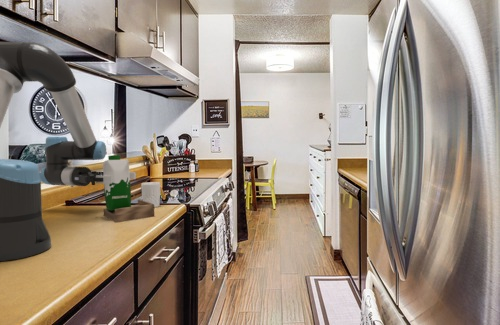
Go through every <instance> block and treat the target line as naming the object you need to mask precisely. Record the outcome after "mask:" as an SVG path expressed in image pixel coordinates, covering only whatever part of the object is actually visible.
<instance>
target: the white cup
mask: <svg viewBox="0 0 500 325" xmlns="http://www.w3.org/2000/svg"><path fill="white" fill-rule="evenodd" d="M140 185H141V198H142V199H141V200H143V201H146V202H149V203H152V204H154V208H157V207H160V203H161V202H160V201H161V182H158V181H157V182H156V181H150V182H147V181H146V182H142V183H140Z"/></svg>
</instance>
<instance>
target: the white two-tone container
mask: <svg viewBox="0 0 500 325" xmlns="http://www.w3.org/2000/svg"><path fill="white" fill-rule="evenodd" d="M102 169H103V171H102V172H103V176H112V184H106V183H103V190H104V201H105V206H106V209H107V210H115V209H119V208H127V207H131V205H132V190H131V187H132V186H131V179H130V172H131V171H130V162H129V159H121V155H118V154H116V155H113V154H112V155H108V160H107V159H106V160H104V161H103V162H102Z"/></svg>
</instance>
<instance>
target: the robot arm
mask: <svg viewBox="0 0 500 325" xmlns="http://www.w3.org/2000/svg"><path fill="white" fill-rule="evenodd" d="M26 82H27V83H29V82H31V83H32V82H39V83H40V84H42V85H43V87H44V90H45V91H47V92H49V93H50V94H51V96H52V98H53V101H54V103H55V105H56V106H57V109H58V111H59V113H60V114H61V115H60V116H61V117H62V119H63V121H64V123H65V125H66V128H67V129H68V132H69V134H70V136H71V138H72V140H68V138H67V136H47V137H46V138H45V148H44V149H45V162H46V165H45V166H44V167H42V169H41V170H40V166H39V165H38V164H36V163H35V162H33V161H27V160H23V159H9V158H7V159H6V158H0V262H5V261H13V260H18V259H24V258H29V257H32V256H35V255H38V254H41V253H44V252H46V251H48V250H49V249H50V248H51V247H52V238H51V235H50V233H49V230H48V229H47V225H46V224H45V221H44V219H43V214H42V213H43V211H42V210H43V208H42V206H43V205H42V184H41V183H44V184H45V185H51V186H70V188H73V187H77V186H78V187H86V186H89V184H91V186H95V185H96V184H104V183H106V184H112V176H103V171H96V170H95V171H94V170H93V171H92V170H91V169H90V168H89V167H86V166H69V161H99V160H101V161H102V160H103V159H105V158H106V155H107V145H106V143H105V142H104V141H102V140H97V139H96V136H95V134H94V130H93V129H92V127H91V124H90V121H89V119H88V116H87V114H86V112H85V111H86V110H85V108H84V106H83V103H82V101H81V99H80V96H79V94H78V91H77V88H76V84H77V79H76V78H75V75H74V73H73V71H72V70H71V67H70V66H69V65H68V63H67V62H66V61H65V60H64V59H63V57H61V56H60V55H59V54H58V53H57V52H55V51H54V50H52V49H51V48H49V47H48V46H46V45H44V44H41V43H38V42H34V41H33V42H31V41H29V42H28V41H27V42H24V41H23V42H21V41H20V42H19V41H18V42H17V41H15V42H13V41H0V128H2V124H3V122H4V120H5V116H6V114H7V111H8V109H9V105H10V103H11V100H12V98H13V95H14V94H18V93H19V92H21V90H22V89H23V87H24V86H23V85H24V84H25V83H26ZM129 172H130V180H136V179H137V175H136V174H137V173H136V172H135V171H132V172H131V171H129Z"/></svg>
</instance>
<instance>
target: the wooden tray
mask: <svg viewBox="0 0 500 325" xmlns="http://www.w3.org/2000/svg"><path fill="white" fill-rule="evenodd" d="M102 210H103V217H105V216H106V217H105V218H107V219H110V220H111V221H113V222H114V223H120V222H127V221H128V222H129V221H133V220H138V219H144V218H145V219H146V218H152V217H155V207H154V204H152V203H149V202H146V201H143V199H139V198H138V199H137V204H131V207H127V208H119V209H115V210H107V208H103V209H102Z"/></svg>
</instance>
